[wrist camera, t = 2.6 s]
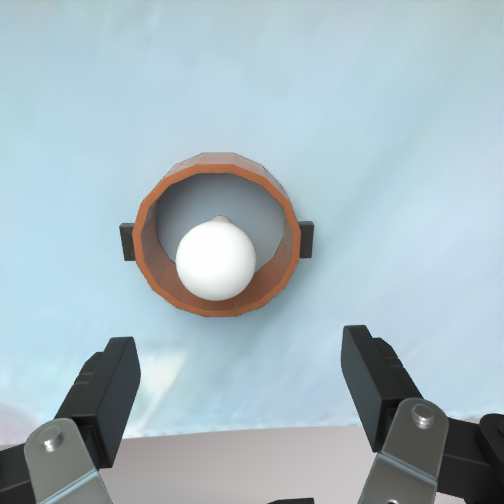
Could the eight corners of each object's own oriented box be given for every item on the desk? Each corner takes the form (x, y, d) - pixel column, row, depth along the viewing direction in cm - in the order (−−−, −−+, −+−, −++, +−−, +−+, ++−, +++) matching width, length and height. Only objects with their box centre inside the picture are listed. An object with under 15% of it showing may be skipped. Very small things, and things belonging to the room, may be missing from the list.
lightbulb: (193, 256, 35) (177, 320, 25) (184, 197, 33) (161, 243, 23) (254, 250, 35) (261, 312, 25) (248, 191, 33) (254, 234, 23)
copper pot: (143, 288, 37) (129, 319, 32) (125, 152, 31) (103, 164, 26) (299, 285, 37) (309, 315, 32) (308, 152, 32) (322, 163, 27)
